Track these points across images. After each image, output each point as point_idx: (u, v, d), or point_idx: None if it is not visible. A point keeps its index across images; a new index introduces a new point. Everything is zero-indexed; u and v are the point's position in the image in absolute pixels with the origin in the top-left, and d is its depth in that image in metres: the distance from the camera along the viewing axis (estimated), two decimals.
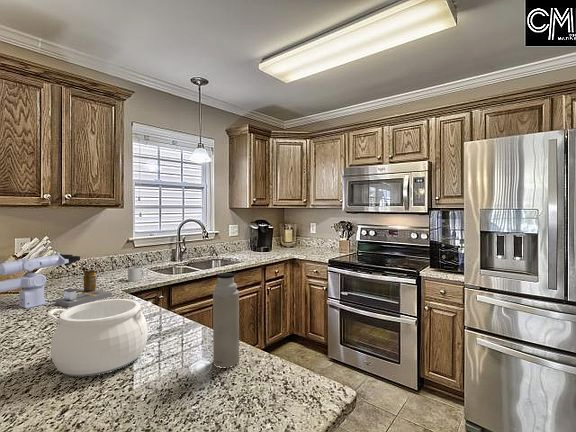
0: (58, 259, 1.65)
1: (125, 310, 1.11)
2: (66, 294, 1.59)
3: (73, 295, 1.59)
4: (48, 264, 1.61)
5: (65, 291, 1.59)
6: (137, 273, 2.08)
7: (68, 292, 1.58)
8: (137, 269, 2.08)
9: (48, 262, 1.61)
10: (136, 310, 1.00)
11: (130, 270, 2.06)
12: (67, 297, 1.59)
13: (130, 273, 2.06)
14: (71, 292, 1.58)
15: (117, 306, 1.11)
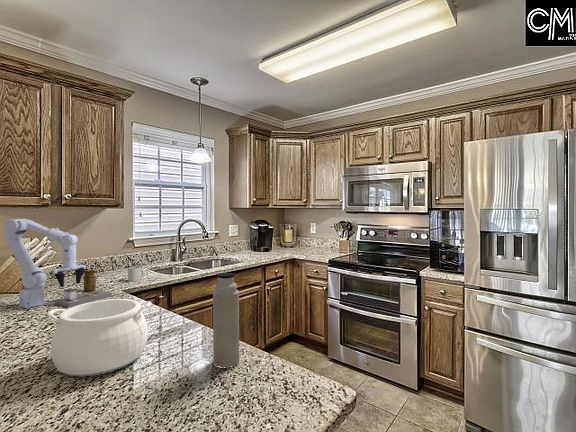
0: (64, 266, 1.57)
1: (125, 310, 1.11)
2: (66, 294, 1.59)
3: (73, 295, 1.59)
4: (64, 257, 1.57)
5: (65, 291, 1.59)
6: (137, 273, 2.08)
7: (68, 292, 1.58)
8: (137, 269, 2.08)
9: (66, 257, 1.57)
10: (136, 310, 1.00)
11: (130, 270, 2.06)
12: (67, 297, 1.59)
13: (130, 273, 2.06)
14: (71, 292, 1.58)
15: (117, 306, 1.11)
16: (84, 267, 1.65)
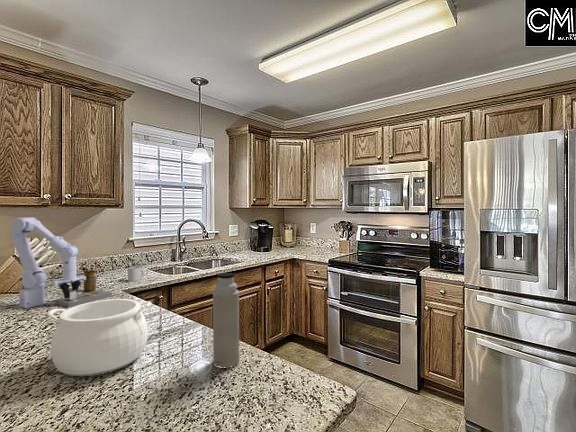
0: (65, 278, 1.57)
1: (125, 310, 1.11)
2: None
3: (73, 295, 1.59)
4: (64, 269, 1.57)
5: None
6: (137, 273, 2.08)
7: (68, 292, 1.58)
8: (137, 269, 2.08)
9: (66, 269, 1.57)
10: (136, 310, 1.00)
11: (130, 270, 2.06)
12: None
13: (130, 273, 2.06)
14: (71, 292, 1.58)
15: (117, 306, 1.11)
16: (84, 278, 1.65)
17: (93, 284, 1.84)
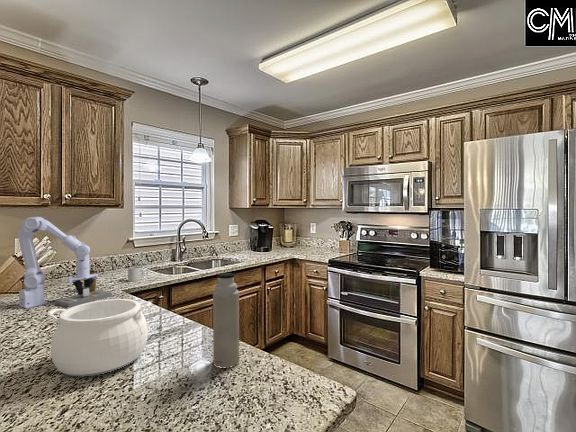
0: (78, 276, 1.63)
1: (125, 310, 1.11)
2: None
3: (86, 292, 1.65)
4: (79, 267, 1.63)
5: None
6: (137, 273, 2.08)
7: None
8: (137, 269, 2.08)
9: (81, 267, 1.63)
10: (136, 310, 1.00)
11: (130, 270, 2.06)
12: None
13: (130, 273, 2.06)
14: (84, 289, 1.64)
15: (117, 306, 1.11)
16: (97, 276, 1.71)
17: (93, 284, 1.84)
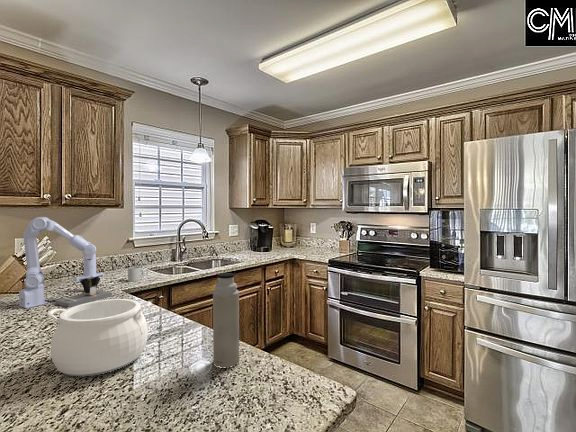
0: (85, 274, 1.66)
1: (125, 310, 1.11)
2: None
3: (93, 290, 1.68)
4: (86, 266, 1.66)
5: None
6: (137, 273, 2.08)
7: None
8: (137, 269, 2.08)
9: (89, 266, 1.66)
10: (136, 310, 1.00)
11: (130, 270, 2.06)
12: None
13: (130, 273, 2.06)
14: (91, 287, 1.67)
15: (117, 306, 1.11)
16: (103, 275, 1.74)
17: None
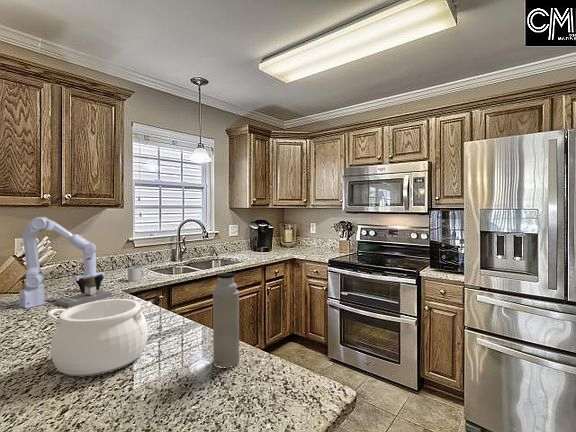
0: (85, 274, 1.66)
1: (125, 310, 1.11)
2: (86, 289, 1.68)
3: (93, 290, 1.68)
4: (86, 265, 1.66)
5: (85, 287, 1.68)
6: (137, 273, 2.08)
7: (88, 287, 1.67)
8: (137, 269, 2.08)
9: (89, 265, 1.66)
10: (136, 310, 1.00)
11: (130, 270, 2.06)
12: (87, 292, 1.68)
13: (130, 273, 2.06)
14: (91, 287, 1.67)
15: (117, 306, 1.11)
16: (103, 274, 1.74)
17: (93, 284, 1.84)
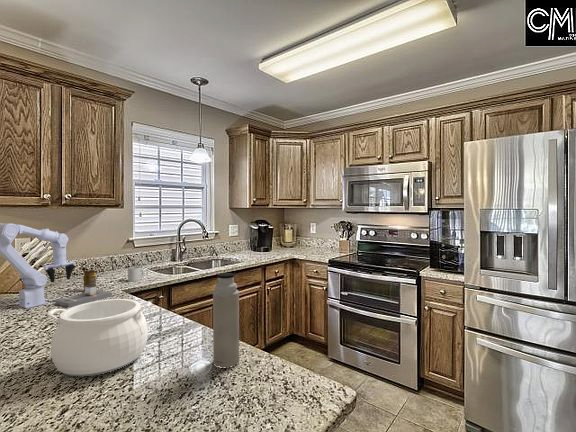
0: (55, 263, 1.67)
1: (125, 310, 1.11)
2: (86, 289, 1.68)
3: (93, 290, 1.68)
4: (60, 254, 1.68)
5: (85, 287, 1.68)
6: (137, 273, 2.08)
7: (88, 287, 1.67)
8: (137, 269, 2.08)
9: (63, 254, 1.69)
10: (136, 310, 1.00)
11: (130, 270, 2.06)
12: (87, 292, 1.68)
13: (130, 273, 2.06)
14: (91, 287, 1.67)
15: (117, 306, 1.11)
16: (74, 263, 1.75)
17: (93, 284, 1.84)
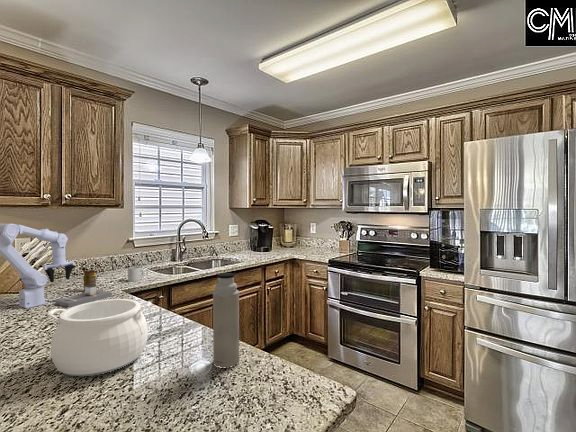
0: (54, 263, 1.67)
1: (125, 310, 1.11)
2: (86, 289, 1.68)
3: (93, 290, 1.68)
4: (60, 254, 1.68)
5: (85, 287, 1.68)
6: (137, 273, 2.08)
7: (88, 287, 1.67)
8: (137, 269, 2.08)
9: (62, 254, 1.69)
10: (136, 310, 1.00)
11: (130, 270, 2.06)
12: (87, 292, 1.68)
13: (130, 273, 2.06)
14: (91, 287, 1.67)
15: (117, 306, 1.11)
16: (73, 263, 1.76)
17: (93, 284, 1.84)
